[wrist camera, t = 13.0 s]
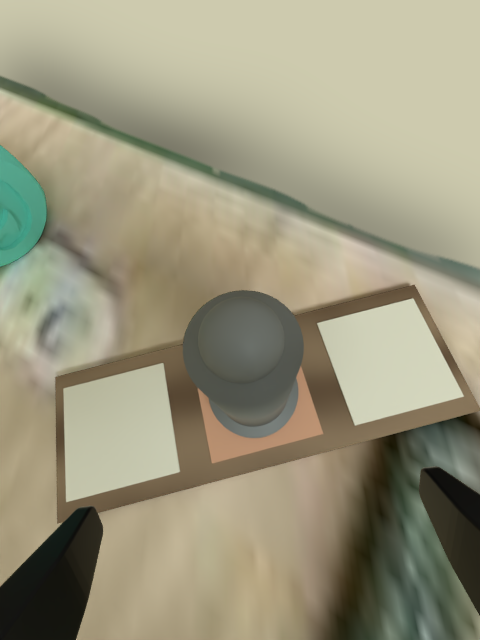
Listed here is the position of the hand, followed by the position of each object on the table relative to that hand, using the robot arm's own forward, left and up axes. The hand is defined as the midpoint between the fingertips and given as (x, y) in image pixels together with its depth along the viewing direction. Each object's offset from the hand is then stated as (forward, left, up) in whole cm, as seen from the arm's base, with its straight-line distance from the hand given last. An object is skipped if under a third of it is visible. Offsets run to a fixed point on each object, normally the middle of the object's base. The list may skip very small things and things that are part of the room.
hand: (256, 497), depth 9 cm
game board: (+5, 0, -12) cm, 13 cm away
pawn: (+5, 0, -11) cm, 12 cm away
